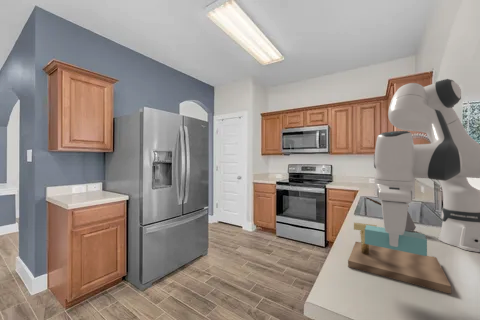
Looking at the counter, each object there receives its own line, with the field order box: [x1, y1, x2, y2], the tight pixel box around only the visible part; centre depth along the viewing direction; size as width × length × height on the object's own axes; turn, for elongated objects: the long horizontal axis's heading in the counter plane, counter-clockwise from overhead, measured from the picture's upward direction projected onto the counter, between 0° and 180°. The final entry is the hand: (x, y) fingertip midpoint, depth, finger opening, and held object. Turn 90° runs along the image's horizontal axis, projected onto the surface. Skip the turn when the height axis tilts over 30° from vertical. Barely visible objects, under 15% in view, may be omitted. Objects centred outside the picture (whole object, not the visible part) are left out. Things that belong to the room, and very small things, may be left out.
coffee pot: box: [364, 196, 416, 232], centre depth 108 cm, size 21×12×15 cm, turn 49°
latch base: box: [347, 241, 452, 294], centre depth 69 cm, size 24×20×2 cm
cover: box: [365, 225, 428, 256], centre depth 56 cm, size 13×5×4 cm, turn 55°
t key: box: [353, 222, 378, 254], centre depth 77 cm, size 8×7×10 cm
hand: (393, 241), depth 56 cm, fingers closed on cover, 5 cm apart
